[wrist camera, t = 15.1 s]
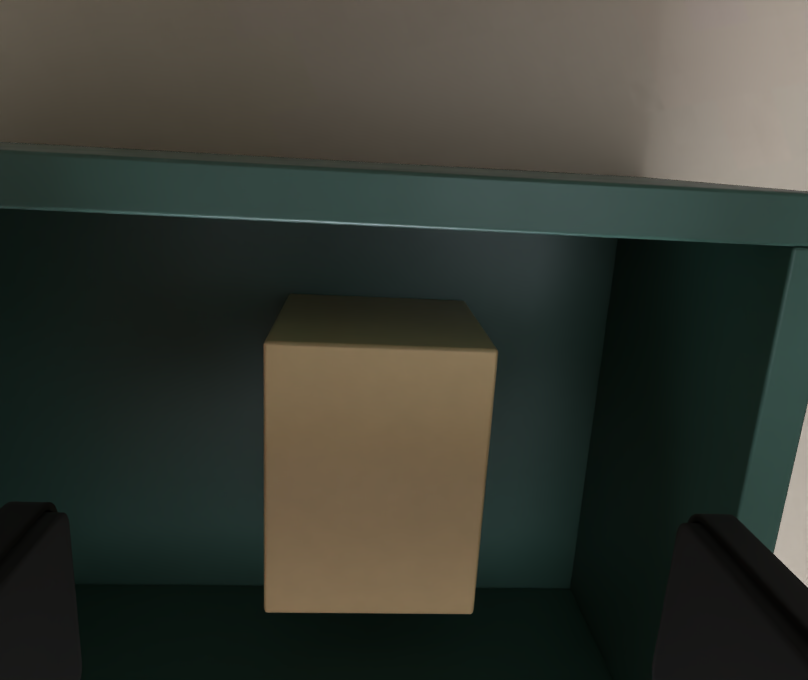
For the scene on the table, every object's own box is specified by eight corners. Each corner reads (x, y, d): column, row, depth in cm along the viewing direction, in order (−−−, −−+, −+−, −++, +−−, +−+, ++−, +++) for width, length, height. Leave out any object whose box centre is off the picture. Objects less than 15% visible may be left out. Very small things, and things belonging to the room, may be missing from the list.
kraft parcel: (286, 506, 18) (263, 614, 14) (288, 292, 17) (262, 341, 13) (448, 509, 19) (473, 615, 14) (465, 300, 17) (499, 349, 13)
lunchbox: (644, 177, 17) (856, 194, 10) (583, 594, 21) (708, 844, 13) (-64, 138, 16) (-431, 126, 9) (-7, 589, 20) (-238, 860, 12)
